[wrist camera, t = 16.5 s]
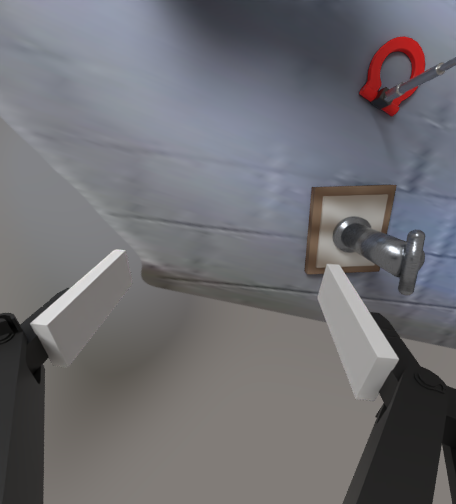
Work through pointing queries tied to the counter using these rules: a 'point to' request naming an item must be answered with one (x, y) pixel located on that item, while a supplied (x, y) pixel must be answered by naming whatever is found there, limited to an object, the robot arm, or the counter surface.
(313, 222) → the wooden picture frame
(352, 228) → the metal mooring bollard
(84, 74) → the counter surface
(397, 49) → the tow hook
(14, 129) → the counter surface
